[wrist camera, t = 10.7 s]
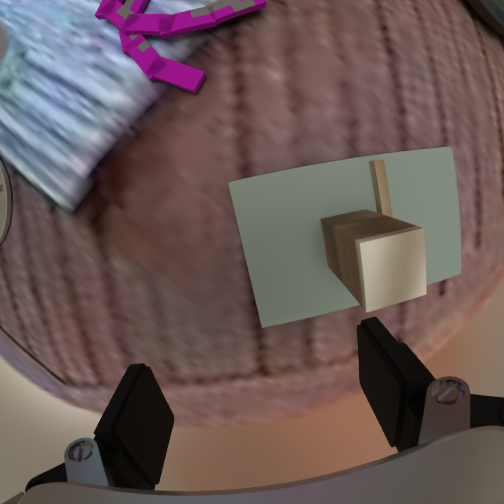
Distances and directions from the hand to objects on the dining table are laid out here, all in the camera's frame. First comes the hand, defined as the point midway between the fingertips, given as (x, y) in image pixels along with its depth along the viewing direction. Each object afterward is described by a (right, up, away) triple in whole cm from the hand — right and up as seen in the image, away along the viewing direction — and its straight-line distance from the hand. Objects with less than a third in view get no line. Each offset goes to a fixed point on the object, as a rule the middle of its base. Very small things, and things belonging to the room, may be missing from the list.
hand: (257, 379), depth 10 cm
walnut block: (+8, +6, +16) cm, 19 cm away
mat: (+10, +7, +17) cm, 21 cm away
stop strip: (+12, +7, +16) cm, 21 cm away
